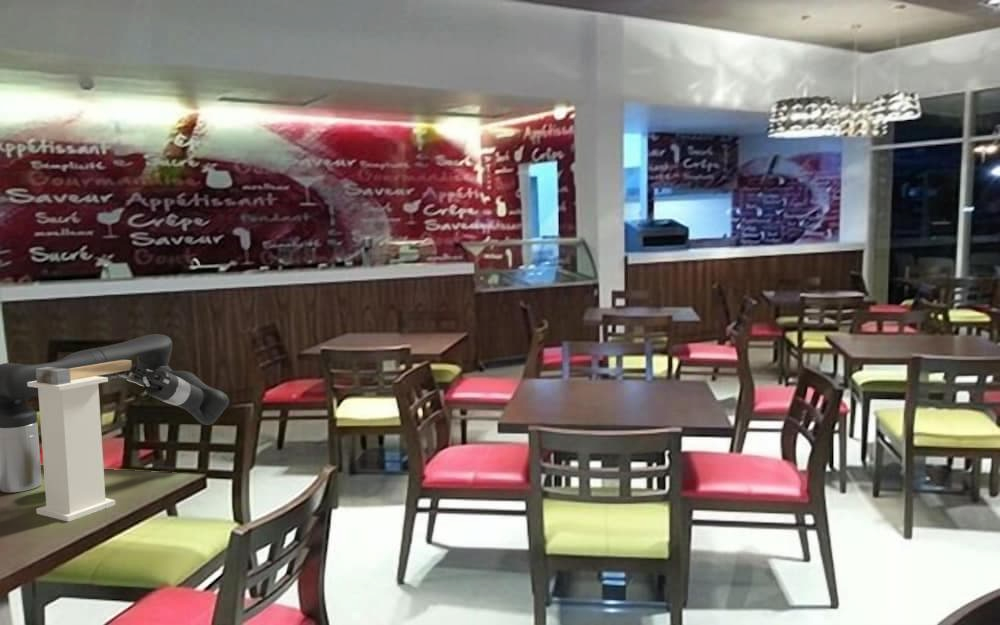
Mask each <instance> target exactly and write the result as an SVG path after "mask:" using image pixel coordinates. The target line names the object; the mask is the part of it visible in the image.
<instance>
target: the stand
mask: <svg viewBox="0 0 1000 625" xmlns="http://www.w3.org/2000/svg"><path fill="white" fill-rule="evenodd" d="M107 382H109V377H99V376H94V377H88V378H82V379H77V380H71V383H66V384H61V385H55V384H47V383H39V382H37V381H32V382H27V386H28V387H35V388H38V394H39V395H38V405H39V407H38V408H39V417H40V418H39V419H40V420H39V421H40V422H39V424H40V434H41V435H40V436H41V448H42V449H41V450H42V451H41V452H42V462H43V463H42V464H43V476H44V480H43V481H44V488H45V489H44V493H45V503H46V504H45V505H44V506H41V507H37V508H36V514H37V515H41V516H44V517H49V518H53V519H55V520H60V521H64V522H71V521H74V520H77V519H80V518H83V517H87V516H88V515H92V514H93V513H97V512H99V511H103V510H105V508H106V509H108V508H110V507H111V508H112V507H113V506H116V500H115V499H112V498H107V497H106V487H105V486H106V485H105V471H104V470H105V469H104V455H103V454H104V453H103V452H104V451H103V440H102V438H103V437H102V423H101V421H102V419H101V406H100V405H101V404H100V402H101V401H100V389H99V384H103V383H107Z"/></svg>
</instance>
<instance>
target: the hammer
mask: <svg viewBox="0 0 1000 625" xmlns="http://www.w3.org/2000/svg"><path fill="white" fill-rule="evenodd" d="M132 361H133V359H132V360H119V361H112V362H106V363H100V364H94V365H88V366H82V367H76V368H70V369H64V368H55V367H44V368H38V369H36V378H37V382H39V383H47V384H55V385H61V384H66V383H71V380H77V379H82V378H88V377H94V376H99V375H105V374H110V373H114V374H116V372H121V371H127V370H130V368H131V366H132V365H133V363H132Z"/></svg>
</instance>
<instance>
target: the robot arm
mask: <svg viewBox="0 0 1000 625" xmlns="http://www.w3.org/2000/svg"><path fill="white" fill-rule="evenodd" d="M172 351H173V340H172V339H171V337H170V336H167V335H164V334H161V333H160V334H159V333H155V334H153V333H152V334H147V335H143V336H139V337H135V338H133V339H129V340H127V341H123V342H119V343H115V344H109V345H105V346H100V347H94V348H89V349H83V350H80V351H79V350H78V351H76V352H73V353H70V354H69V355H67V356H64V357H63V358H61V359H59V360H56V361H51V362H45V363H44V362H43V363H37V364H36V363H35V364H24V363H22V364H20V363H14V362H5V363H4V362H3V363H0V492H3V493H20V492H26V491H29V490H34V489H36V488H38V487H40V486H42V484H43V482H42V478H43V477H42V467H41V466H42V465H41V455H40V454H41V452H40V438H39V436H40V435H39V426H38V414H37V411H36V409H34V408H33V406H31V405H30V403H29V401H28V399H29V398H33V397H35V396H39V394H38V388H35V387H28V386H27V382H32V381H37V378H36V369H38V368H44V367H55V368H64V369H70V368H76V367H82V366H88V365H94V364H100V363H106V362H112V361H119V360H132V361H133V359H136V363H137V364H133V363H132V366H131V368H130V370H127V371H121V372H116V373H110V374H105V375H99V377H108V378H109V377H111V376H112V375H114V374H115V377H117V378H120V379H123V380H125V381H128V382H130V383H132V384H137V385H138V386H140V387H141V386H142V387H145V388H144V389H145V392H146V394H147V395H148V396H150V397H152V398H155V399H157V400H159V401H162V402H164V403H166V404H169V405H173V406H176V407H179V408H181V409H183V410H185V411H186V412H188V413H189V414H191V415H192V416H193V417H194V418H195V419H196V421H198V422H199V423H200V424H203V425H204V426H205V425H206V426H209V425H212V424H214V423H215V422H216V421H217V420H218V419H219V418H220V416H221V415H222V414H223V413H224V411H225V410H226V408H227V407H228V406H229V404H230V400H229V399H230V398H229V397H228V395H227V394H226V393H225V392H223V391H222V390H219V389H215V388H213V387H211V386H209V385H207V384H205V382H203V381H202V380H201V379H200V378H199V377H198V376H196V375H195V374H194V373H193V372H190V371H187V370H186V371H185V370H173V369H171V367H170V366H169V363H170V359H171V355H172Z"/></svg>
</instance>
